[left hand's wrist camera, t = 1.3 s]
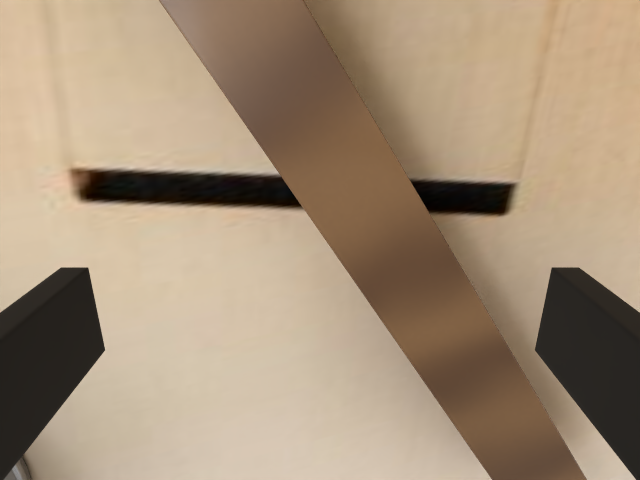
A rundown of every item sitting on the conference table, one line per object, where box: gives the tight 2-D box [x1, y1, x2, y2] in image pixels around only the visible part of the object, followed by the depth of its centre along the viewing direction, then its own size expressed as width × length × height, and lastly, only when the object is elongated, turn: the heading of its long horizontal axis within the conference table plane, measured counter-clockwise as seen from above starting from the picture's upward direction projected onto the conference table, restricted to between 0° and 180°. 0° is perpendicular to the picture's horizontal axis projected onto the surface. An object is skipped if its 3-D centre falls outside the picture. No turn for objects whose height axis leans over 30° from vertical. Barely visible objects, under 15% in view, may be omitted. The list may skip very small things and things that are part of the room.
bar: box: [159, 0, 587, 480], centre depth 26 cm, size 74×6×8 cm, turn 33°
